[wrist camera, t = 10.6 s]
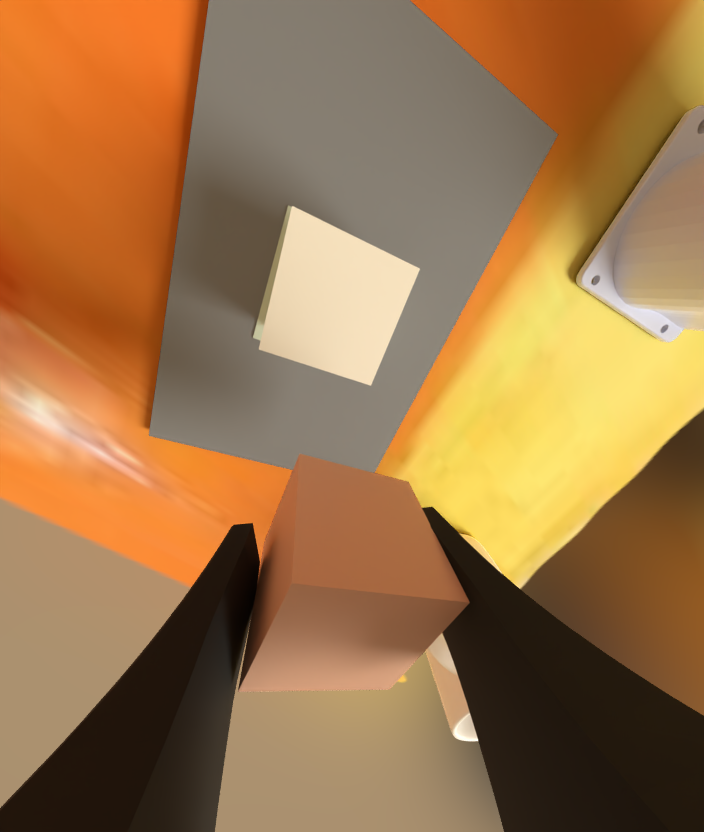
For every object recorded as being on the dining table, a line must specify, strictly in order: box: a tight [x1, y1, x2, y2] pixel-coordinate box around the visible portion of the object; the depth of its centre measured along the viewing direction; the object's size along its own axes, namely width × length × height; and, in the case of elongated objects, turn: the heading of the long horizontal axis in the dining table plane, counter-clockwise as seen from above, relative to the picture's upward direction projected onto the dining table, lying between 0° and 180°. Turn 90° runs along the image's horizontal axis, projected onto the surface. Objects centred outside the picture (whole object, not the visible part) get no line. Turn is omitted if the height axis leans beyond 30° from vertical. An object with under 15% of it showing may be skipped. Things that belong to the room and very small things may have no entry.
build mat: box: [149, 0, 558, 473], centre depth 14 cm, size 14×21×1 cm, turn 157°
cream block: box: [259, 206, 420, 386], centre depth 11 cm, size 4×4×4 cm
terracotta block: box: [238, 454, 470, 692], centre depth 9 cm, size 4×4×4 cm
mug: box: [426, 533, 502, 741], centre depth 20 cm, size 12×8×10 cm
